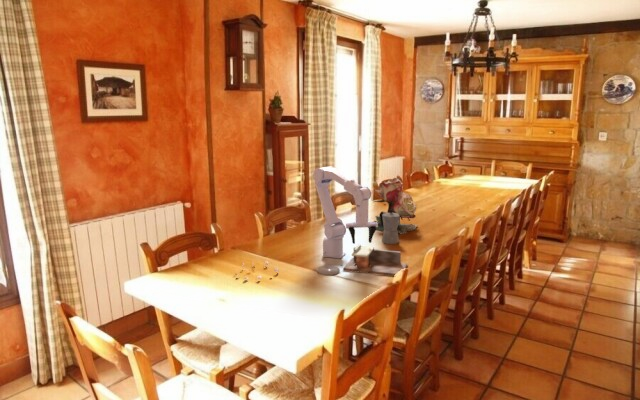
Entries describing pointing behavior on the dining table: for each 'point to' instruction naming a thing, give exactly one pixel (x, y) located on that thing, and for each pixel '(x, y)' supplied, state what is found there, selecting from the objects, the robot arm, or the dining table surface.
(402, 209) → the rose bouquet
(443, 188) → the dining table surface
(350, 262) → the puzzle board
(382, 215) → the coffeepot
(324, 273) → the saucer
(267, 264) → the game piece set
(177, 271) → the dining table surface
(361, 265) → the block
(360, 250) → the sliding lid
